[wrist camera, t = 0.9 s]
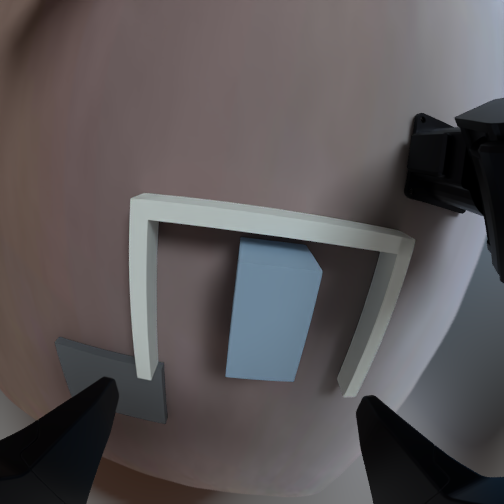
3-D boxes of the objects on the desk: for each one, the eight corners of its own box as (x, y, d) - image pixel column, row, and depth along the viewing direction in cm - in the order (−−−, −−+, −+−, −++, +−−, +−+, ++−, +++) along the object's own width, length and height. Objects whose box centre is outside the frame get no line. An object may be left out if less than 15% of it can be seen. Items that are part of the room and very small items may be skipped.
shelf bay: (399, 230, 20) (415, 239, 17) (348, 378, 24) (355, 396, 22) (144, 192, 18) (130, 198, 16) (145, 359, 23) (137, 377, 20)
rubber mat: (163, 362, 23) (161, 370, 22) (167, 417, 25) (165, 424, 24) (59, 336, 22) (54, 342, 21) (75, 392, 25) (72, 398, 24)
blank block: (305, 244, 20) (322, 271, 15) (285, 339, 22) (293, 381, 18) (240, 236, 20) (238, 261, 15) (229, 334, 22) (225, 376, 17)
